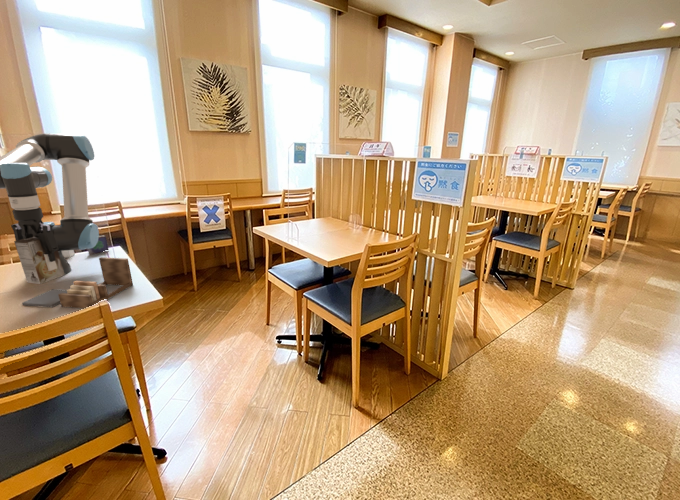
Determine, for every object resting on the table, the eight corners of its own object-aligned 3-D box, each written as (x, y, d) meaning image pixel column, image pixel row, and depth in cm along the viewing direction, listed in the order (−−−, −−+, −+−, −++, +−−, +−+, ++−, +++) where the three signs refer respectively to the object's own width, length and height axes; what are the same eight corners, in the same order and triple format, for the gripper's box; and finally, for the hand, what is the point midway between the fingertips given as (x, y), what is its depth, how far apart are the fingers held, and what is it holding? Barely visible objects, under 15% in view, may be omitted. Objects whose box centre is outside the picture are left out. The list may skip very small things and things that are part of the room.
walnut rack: (61, 306, 119) (53, 276, 116) (107, 283, 140) (101, 257, 136) (91, 308, 118) (84, 278, 115) (133, 284, 138) (127, 258, 135)
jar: (73, 252, 177) (68, 231, 174) (75, 256, 172) (70, 234, 168) (52, 256, 171) (46, 234, 168) (53, 260, 166) (47, 237, 162)
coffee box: (52, 273, 127) (41, 234, 122) (65, 275, 126) (54, 235, 121) (26, 282, 119) (13, 240, 114) (40, 284, 117) (27, 242, 112)
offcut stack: (70, 304, 121) (65, 285, 119) (80, 299, 125) (75, 280, 123) (91, 306, 120) (86, 286, 118) (100, 300, 124) (96, 281, 122)
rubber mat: (22, 305, 120) (21, 302, 120) (53, 291, 131) (52, 289, 131) (52, 307, 119) (51, 304, 119) (80, 293, 130) (79, 290, 130)
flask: (89, 255, 174) (85, 236, 170) (88, 254, 175) (83, 235, 172) (109, 251, 180) (105, 232, 177) (107, 250, 182) (103, 231, 179)
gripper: (-11, 209, 111) (9, 271, 118) (41, 210, 110) (58, 274, 117) (12, 205, 119) (30, 264, 126) (61, 207, 117) (76, 266, 124)
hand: (43, 268), depth 121 cm, fingers closed on coffee box, 7 cm apart
